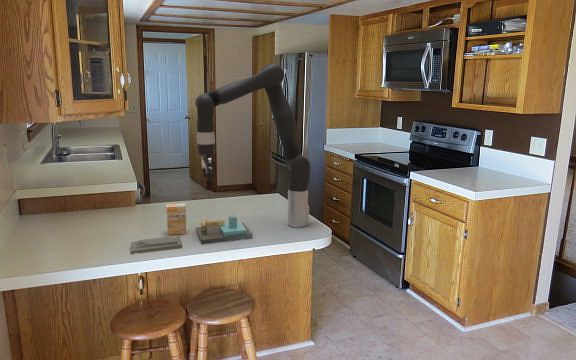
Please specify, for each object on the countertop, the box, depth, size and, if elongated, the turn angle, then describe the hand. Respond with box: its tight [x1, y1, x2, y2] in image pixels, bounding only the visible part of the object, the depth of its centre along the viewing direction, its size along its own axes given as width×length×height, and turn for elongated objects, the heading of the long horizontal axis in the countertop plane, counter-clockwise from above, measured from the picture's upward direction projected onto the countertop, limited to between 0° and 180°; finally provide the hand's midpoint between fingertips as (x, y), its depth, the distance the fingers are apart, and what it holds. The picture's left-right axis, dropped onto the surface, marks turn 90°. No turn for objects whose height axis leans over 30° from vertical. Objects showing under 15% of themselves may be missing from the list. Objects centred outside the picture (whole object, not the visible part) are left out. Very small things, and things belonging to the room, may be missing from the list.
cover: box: [219, 214, 247, 236], centre depth 205 cm, size 10×10×6 cm
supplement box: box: [166, 202, 187, 236], centre depth 207 cm, size 8×5×13 cm, turn 105°
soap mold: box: [130, 236, 183, 255], centre depth 192 cm, size 10×20×4 cm, turn 109°
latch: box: [200, 219, 226, 231], centre depth 207 cm, size 10×2×4 cm, turn 110°
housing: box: [195, 222, 253, 245], centre depth 206 cm, size 22×16×2 cm
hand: (207, 179), depth 203 cm, fingers open, 8 cm apart
